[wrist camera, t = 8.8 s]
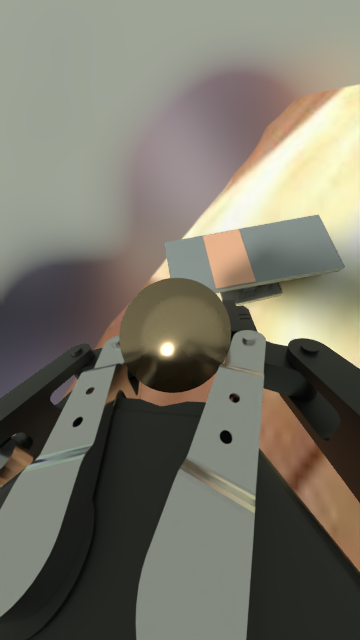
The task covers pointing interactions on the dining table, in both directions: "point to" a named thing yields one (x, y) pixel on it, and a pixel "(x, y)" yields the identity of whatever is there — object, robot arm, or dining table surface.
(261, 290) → the pivot stand
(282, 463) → the dining table surface
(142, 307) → the ball
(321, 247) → the seesaw board
